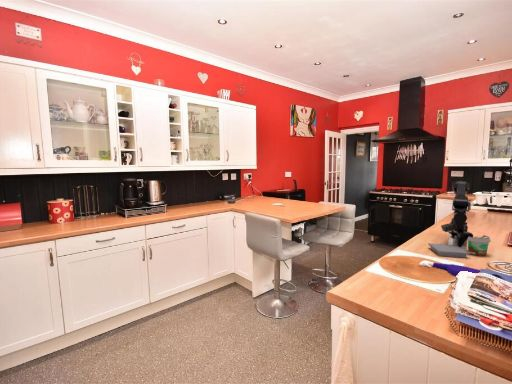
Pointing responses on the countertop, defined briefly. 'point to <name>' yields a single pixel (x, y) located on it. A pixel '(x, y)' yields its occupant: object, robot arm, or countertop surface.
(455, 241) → the housing
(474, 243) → the food container
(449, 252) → the stand
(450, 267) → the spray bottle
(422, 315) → the countertop surface
